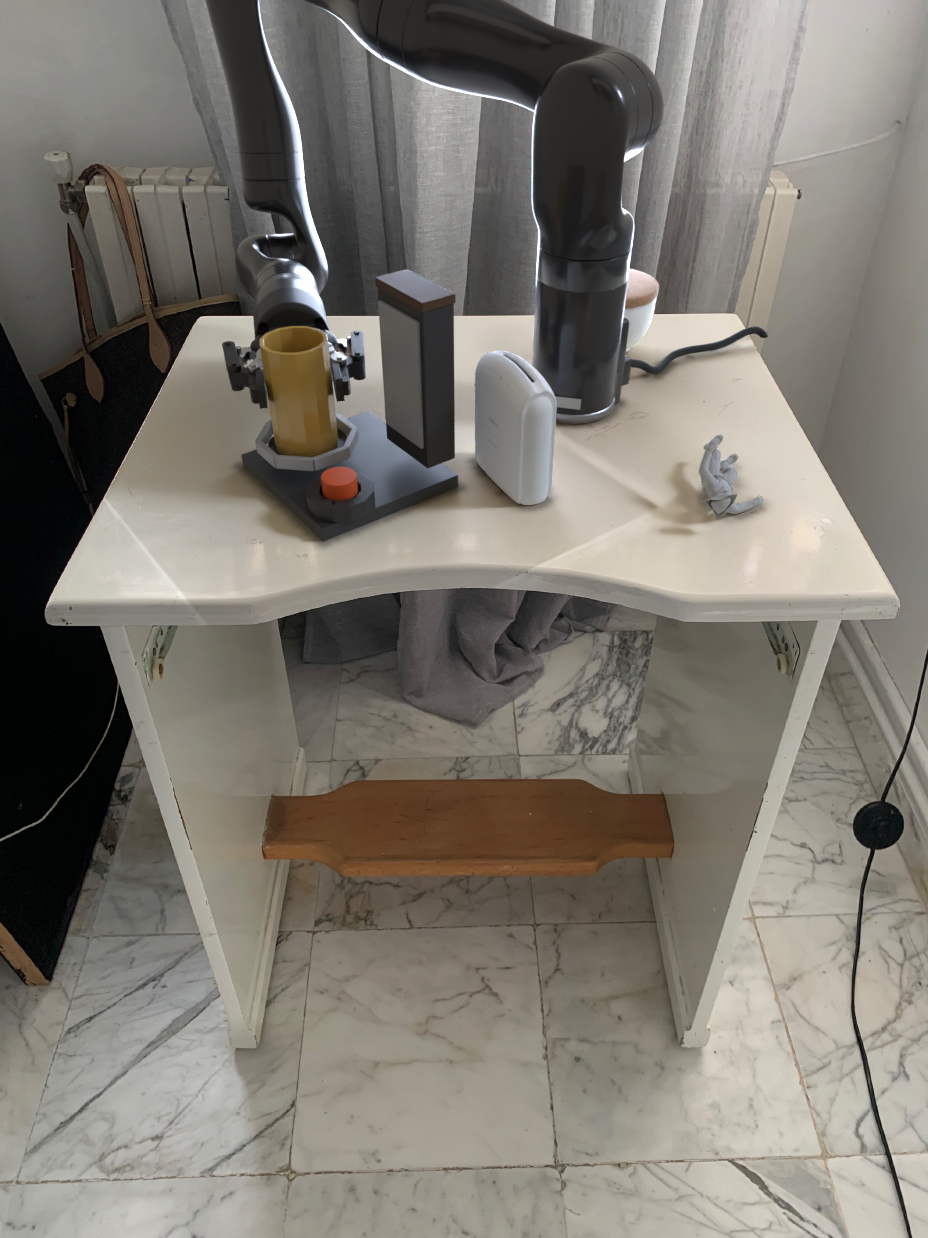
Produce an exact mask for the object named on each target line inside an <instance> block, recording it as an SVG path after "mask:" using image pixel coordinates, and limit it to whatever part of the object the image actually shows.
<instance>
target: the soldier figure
mask: <svg viewBox="0 0 928 1238" xmlns="http://www.w3.org/2000/svg"><path fill="white" fill-rule="evenodd" d="M723 440H724V436H723V435H722V434H718V435H716V436H714V437H713V438H712V439H711V440H710V441H709V442H708V443H705V444H704V446H703V450H704V453H703V455H702V458H701V460H700V465H699V468H698V475H699V476H700V482H701V487H703V490H704V491H705V495H706V496H708V498H705V499H702V503H703V504H705V505H706V506H707V507H708V508H710V510H711V511H712V512H713V514H714V516H715V520H716V521H718V520H719V519H721V518H723V517H724V516H725V515H726V513H727V514H732V515H737V514H740V513H744V512H746V511H748V510H751V509H753V508H754V507H757V506H759V505H760V504H762V503H763V502H764V497H763V496H762V495H760V494H758V496H756V497H755V498H753V499H752V500H750V501H749V500H747V501H745V502H742V503H736V502H735V501H736V499H737V498H738V494H737V493H734V487H733V484H734V483H735V481H736V480H737V479H738V477H739V475H738V470H737V469H735V467H732V466H731V465H733V464H735V463H737V461H738V459H739V455H738V454H737V453H733V454H730V455H728V457H727V458H725V459H723V460H721V457H722V453H721V450H720V449H718V448H719V445H720V444H721V443H722V442H723ZM721 472H722V473H721Z"/></svg>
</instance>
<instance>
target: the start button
mask: <svg viewBox="0 0 928 1238" xmlns="http://www.w3.org/2000/svg"><path fill="white" fill-rule="evenodd" d="M321 483H322V492H323V496H324V497H325V498H326V499H330V500H334V501H340V500H347V499H350V498H352V497H355V496H356V495H357V493H358V485H357V475H356V472H355V471H354V470H352V469H350V468H347V467H334V468H330V469H328V470H326V471H324V472H323V473H322V475H321Z"/></svg>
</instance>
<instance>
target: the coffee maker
mask: <svg viewBox="0 0 928 1238" xmlns="http://www.w3.org/2000/svg"><path fill="white" fill-rule="evenodd" d="M374 281H375V287H376V288H377V304H378V319H379V321H378V323H379V335H380V351H381V352H380V353H381V369H382V381H383V382H382V383H383V398H384V399H383V400H384V411H385V412H384V413H385V416H384V417H385V423H386V430H387V439H388V440H390V441H391V442H392V443H394V444H395V445H396V446H398V447H399V448H401V449H402V450H403V451H405V452H406V453H407V454H409V455H410V456H411V457H413V458H414V459H415V460H417V461H418V462H419V463H421V464H422V465H424V466H425V467H426V468H431V467H433V466H436V465H438V464H441V463H442V464H444V463H445V462H448V461H451V460H454V459H456V433H455V431H456V430H455V429H456V427H455V425H456V423H455V422H456V421H455V418H456V417H455V415H456V414H455V316H454V315H455V307H454V304H456V293H454V292H453V291H451V290H449V289H447V288H445V287H443V286H441V285H439V284H437V283H435V282H433V281H432V280H430V279H427V278H426V277H424V276H421V274H418V273H416V272H414V271H413V270H410V269H408V268H406V269H401V270H398V271H394V272H390V273H386V274H383V275H379V276H375V277H374ZM335 414H336V424H337V428H338V429H337V433H338V444H337V446H336V448H335V449H334V450H332V451H329V452H326V453H323V454H321V455H318V456H315V457H301V456H288V455H282V454H281V453H279V452H278V450H277V449H276V445H275V440H274V434H273V427H272V421H271V419H270V420H268V421H267V422H265V423H264V426H263V427H262V429H261V430H260V431H259V433H258V435H257V437H256V438H255V441H254V443H255V448H256V449H257V452H258V453H259V454H260V455H261V456H262V457H263V458H264V459H265V460H266V461H268V462H269V463H270V464H271V465H272V466H273V467H274V468H277V469H289V470H302V471H314V470H315V471H317V470H320V469H323V468H326V467H328V466H331V465H334V464H337V463H339V462H342V461H345V460H348V458H350V457H351V455H352V452H353V450H354V448H355V446H356V444H357V442H358V429H357V427H356V426H354V425H353V424H352V423H350V422H349V421H348V420H346V419H347V418H345V417H344V416H342V414H340V413H337V412H335ZM339 429H340V430H339ZM346 435H347V436H348V438H347V436H346Z"/></svg>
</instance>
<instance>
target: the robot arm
mask: <svg viewBox="0 0 928 1238" xmlns="http://www.w3.org/2000/svg"><path fill="white" fill-rule="evenodd" d="M204 1H205V4H206V9H207V12H208V16H209V21H210V25H211V28H212V32H213V36H214V41H215V44H216V48H217V52H218V55H219V59H220V62H221V67H222V69H223V74H224V75H223V76H224V78H225V83H226V87H227V91H228V96H229V100H230V105H231V111H232V117H233V123H234V130H235V131H234V132H235V138H236V146H237V152H238V153H237V155H238V163H239V170H240V179H241V188H242V194H243V199H244V202H245V205H246V206H247V207H248V208H249V209H251V210H253V211H257V212H261V213H265V214H272V215H277V216H280V217H283V218H284V219H285V220H287V221H288V222H289V223H290V225H291V227H292V228H293V232H292V233H272V234H271V233H270V234H266V233H265V234H254V235H250V236H248V237H245V238H244V239H243V240H241V242H240V243H239V244H238V246H237V249H236V252H235V259H234V260H235V270H236V275H237V278H238V281H239V283H240V285H241V286H240V287H242V289H243V292H244V293H245V294H246V296H247V297H248V299H250V301H252V303H253V307H252V317H253V318H252V319H253V330H254V332H253V333H254V339H253V340H252V341H251V343H250V345H249V346H243V347H241V345H237V346H236V342H234V341H232V340H228V341H224V342H222V343H221V347H222V351H223V357H224V362H225V368H226V372H227V376H228V380H229V383H230V387H231V390H232V391H233V392H242V391H244V390H245V389H246V388H248V390H249V397H250V402H251V403H252V404H253V405H259V409H262V410H263V409H268V408H269V404H268V395H267V389H266V383H265V376H264V370H263V363H262V357H261V351H260V341H259V340H260V338H261V337H262V336H263V335H265V334H266V333H268V332H270V331H272V330H275V329H278V328H283V327H289V326H308V327H312V328H317V329H320V330H321V331H323V332H324V333H326V334H327V339H328V347H329V356H330V366H331V375H332V385H333V390H334V393H335V398H336V402H345V399H346V398H345V397H346V396H350V395H351V394H352V389H351V380H350V379H354V380H355V381H363V380H365V379H367V374H366V373H367V372H366V355H365V354H366V353H365V343H364V342H365V341H364V332H363V331H362V330H352V331H351V332H350V336H347V337H346V338H337V336H336V335H335V334H334V333H332V332H331V331H330V326H329V321H328V318H327V313H326V309H325V305H324V303H323V299H322V297H321V296H320V294H321V293H322V292H323V290H324V289H325V288H326V286H327V282H328V279H329V264H328V261H327V260H328V259H327V257H326V254H325V251H324V248H323V246H322V242H321V240H320V238H319V235H318V231H317V229H316V226H315V223H314V219H313V217H312V212H311V209H310V205H309V200H308V194H307V187H306V179H305V169H304V168H305V167H304V159H303V146H302V138H301V131H300V127H299V122H298V119H297V115H296V111H295V109H294V106H293V104H292V101H291V99H290V96H289V94H288V92H287V90H286V87H285V85H284V82H283V80H282V78H281V77H280V74H279V71H278V69H277V68H276V65H275V63H274V59H273V57H272V54H271V51H270V48H269V45H268V42H267V39H266V35H265V32H264V26H263V22H262V16H261V6H260V0H204ZM302 1H303V2H305V3H308V4H310V5H312V6H316V7H317V8H320V9H322V10H324V11H326V12H328V13H329V14H331V15H333V16H334V17H336V18H337V20H339V21H341V23H342V24H343V25H344V26H345V27H346V28H347V29H348V30H349V31H350V33H351V34H352V35H353V36H354V37H355V39H356V40H357V41H358V42H359V43H360V44H361V45H362V46H363V47H364V48H365V49H366V50H368V51H369V52H371V53H372V54H373V55H375V56H376V57H377V58H379V59H380V60H382V61H383V62H385V63H387V64H389V65H391V66H393V67H395V68H396V69H398V70H400V71H402V72H404V73H406V74H407V75H410V76H412V77H413V78H416V79H417V80H420V81H422V82H425V83H427V84H429V85H432V86H435V87H438V88H442V89H446V90H450V91H454V92H459V93H462V94H468V95H473V96H477V97H478V96H479V97H483V98H489V99H494V100H500V101H505V102H507V103H512V104H515V105H518V106H520V107H522V108H525V109H527V110H529V111H531V112H533V120H532V131H531V133H532V134H531V207H532V213H533V218H534V220H535V223H536V227H537V233H538V234H537V237H538V238H537V252H536V253H537V254H536V270H535V273H536V274H535V293H534V313H533V314H534V315H533V331H532V347H531V348H532V349H531V351H532V352H531V365H532V366H533V367H534V368H535V369H536V370H537V371H538V372H539V373H540V374H541V375H542V376H543V378H544V379H545V380H546V382H547V383H548V384H549V386H550V388H551V389H552V391H553V393H554V396H555V398H556V402H557V411H556V423H562V424H573V425H574V424H575V425H576V424H588V423H593V422H597V421H599V420H602V419H604V418H606V417H608V416H609V415H611V414H612V412H613V411H614V407H615V405H617V404H619V403H620V402H621V393H622V387H623V386H627V385H628V384H630V377H631V369H632V368H635V369H640V370H642V371H644V373H646V374H649V375H657V374H660V373H661V372H663V371H664V370H666V368H667V367H668V366H669V365H670V364H671V363H672V362H673V361H674V360H675V359H677V358H680V357H683V356H687V355H692V354H698V353H705V352H712V351H716V350H717V351H718V350H721V349H723V348H726V347H728V346H730V345H733V344H734V343H735V342H738V341H739V340H741V339H743V338H746V337H747V336H750V335H756V336H758V337H759V338H761V339H767V338H768V337H769V335H768V333H767V332H766V330H764V328H762V327H760V326H755V325H754V326H749V327H745V328H743V329H741V330H738V331H737V332H735V333H733V334H731V335H730V336H728V337H725V338H724V339H721V340H718V341H714V342H709V343H704V344H696V345H688V346H685V347H681V348H678V349H676V350H672V352H670V353H669V354H667V355H666V356H665V357H664V358H663V359H662V360H661V362H660V363H658V364H657V365H654V366H653V365H651V364H649V363H648V362H646V361H644V360H641V359H636V358H635V359H632V358H630V357H628V356H626V353H627V352H626V347H627V339H628V331H629V320H628V318H626V317H624V309H625V301H626V292H627V284H628V275H629V269H630V265H631V257H632V249H633V241H634V235H635V220H634V217H633V216H632V214H631V213H630V212H629V211H628V210H626V209H624V208H623V207H622V206H623V205H622V198H623V181H624V168H625V162H626V161H628V160H630V159H632V158H633V157H636V156H637V155H638V154H639V153H640V152H642V151H643V150H644V149H645V148H646V147H647V146H649V144H650V143H651V142H652V141H653V140H654V138H655V137H656V135H657V133H658V132H659V130H660V127H661V125H662V122H663V119H664V105H665V104H664V98H663V92H662V89H661V86H660V83H659V81H658V79H657V77H656V75H655V74H654V72H653V70H651V68H650V66H648V64H646V62H645V61H643V60H642V59H641V58H640V57H639V56H637V55H635V54H634V53H632V52H629V51H627V50H624V49H622V48H619V47H616V46H613V45H610V44H606V43H603V42H600V41H598V40H594V39H591V38H589V37H585V36H582V35H579V34H577V33H573V32H572V31H571V32H570V31H567V30H565V29H562V28H559V27H557V26H554V25H552V24H550V23H548V22H545V21H543V20H541V19H539V18H537V17H535V16H533V15H531V14H530V13H528V12H526V11H524V10H523V9H521V8H519V7H518V6H516V5H514V4H512V3H511V2H509V1H507V0H302ZM341 353H342V354H341ZM250 360H252V361H251V362H249V363H248V361H250ZM246 365H247V366H246ZM245 366H246V367H245Z"/></svg>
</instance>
